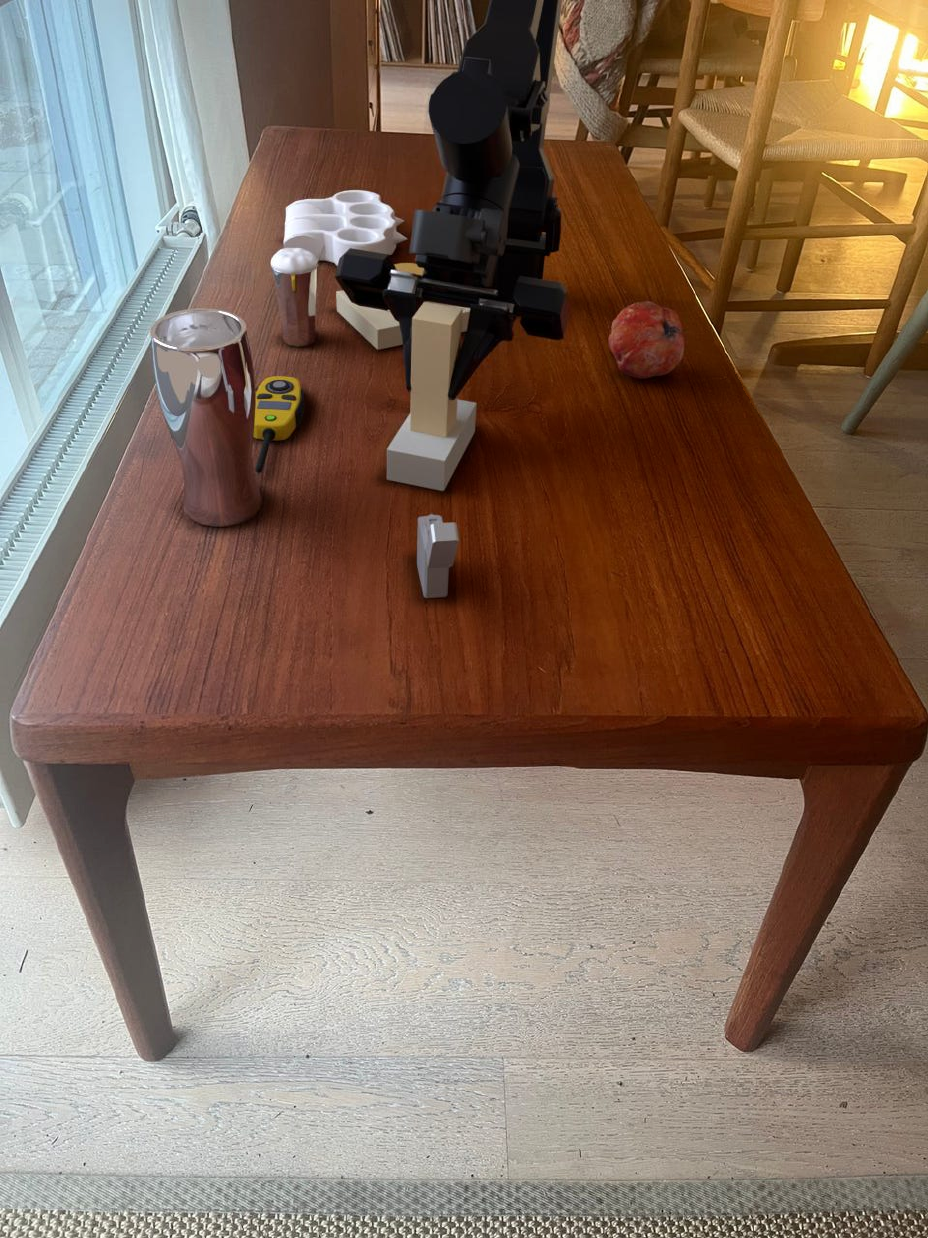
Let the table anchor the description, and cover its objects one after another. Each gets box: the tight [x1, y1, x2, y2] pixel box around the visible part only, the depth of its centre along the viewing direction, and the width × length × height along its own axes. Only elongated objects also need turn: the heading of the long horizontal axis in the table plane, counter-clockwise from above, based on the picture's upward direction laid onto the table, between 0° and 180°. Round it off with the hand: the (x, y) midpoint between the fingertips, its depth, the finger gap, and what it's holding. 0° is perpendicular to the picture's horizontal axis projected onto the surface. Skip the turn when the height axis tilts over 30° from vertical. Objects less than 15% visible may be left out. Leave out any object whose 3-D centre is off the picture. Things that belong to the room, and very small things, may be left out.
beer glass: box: [149, 307, 263, 528], centre depth 73 cm, size 7×7×15 cm
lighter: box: [416, 513, 460, 599], centre depth 69 cm, size 7×2×8 cm, turn 10°
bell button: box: [394, 262, 424, 275], centre depth 102 cm, size 4×4×2 cm
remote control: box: [253, 375, 305, 474], centre depth 86 cm, size 5×2×15 cm
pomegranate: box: [608, 300, 685, 380], centre depth 96 cm, size 7×7×10 cm
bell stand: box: [335, 289, 470, 351], centre depth 103 cm, size 12×10×4 cm
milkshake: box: [270, 246, 324, 348], centre depth 96 cm, size 4×5×10 cm
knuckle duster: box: [283, 189, 408, 267], centre depth 119 cm, size 3×18×15 cm
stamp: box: [386, 302, 478, 492], centre depth 81 cm, size 5×10×13 cm, turn 165°
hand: (429, 394), depth 80 cm, fingers closed on stamp, 3 cm apart
